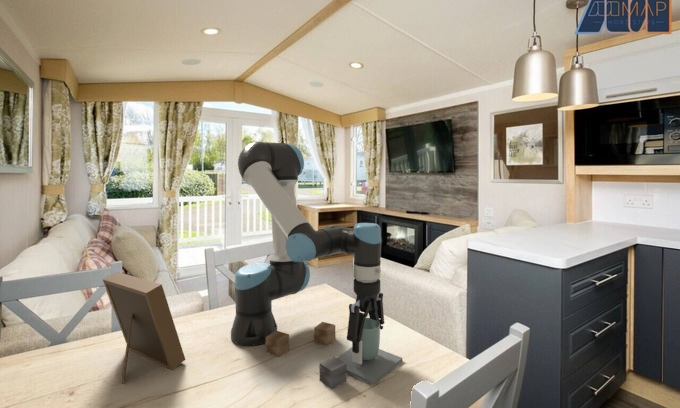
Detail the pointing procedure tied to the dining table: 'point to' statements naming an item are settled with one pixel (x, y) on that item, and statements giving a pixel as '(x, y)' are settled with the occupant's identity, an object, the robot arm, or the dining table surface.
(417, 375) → the dining table surface
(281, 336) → the walnut block near
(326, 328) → the walnut block left
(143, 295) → the photo frame
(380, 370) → the slate board
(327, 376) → the charcoal block front
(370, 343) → the cup
